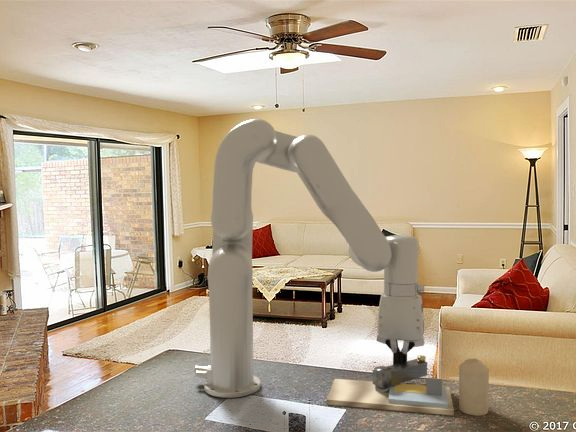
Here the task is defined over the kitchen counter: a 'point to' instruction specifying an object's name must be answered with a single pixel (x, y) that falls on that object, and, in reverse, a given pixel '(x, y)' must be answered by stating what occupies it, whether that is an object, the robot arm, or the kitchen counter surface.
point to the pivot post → (382, 389)
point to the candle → (473, 387)
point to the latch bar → (399, 372)
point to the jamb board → (376, 398)
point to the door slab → (420, 394)
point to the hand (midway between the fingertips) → (400, 368)
